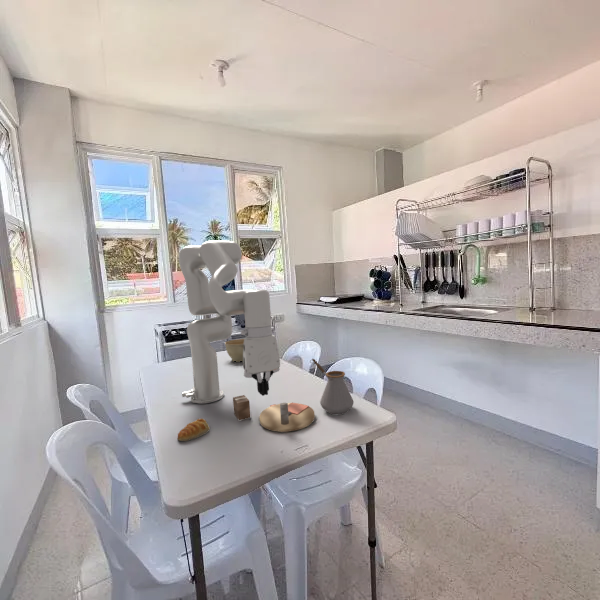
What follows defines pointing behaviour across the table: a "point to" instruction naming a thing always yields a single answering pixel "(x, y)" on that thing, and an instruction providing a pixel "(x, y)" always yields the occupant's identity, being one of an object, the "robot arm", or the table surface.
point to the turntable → (287, 417)
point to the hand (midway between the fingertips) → (263, 393)
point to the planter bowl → (235, 349)
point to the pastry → (193, 430)
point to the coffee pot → (335, 393)
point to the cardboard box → (241, 407)
